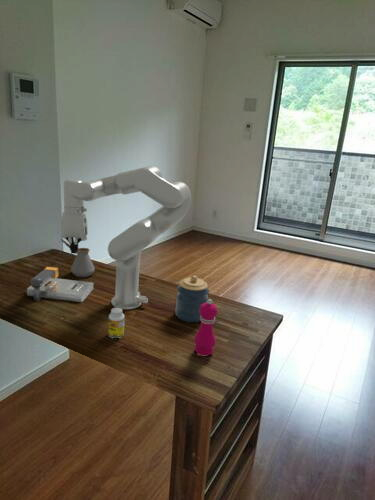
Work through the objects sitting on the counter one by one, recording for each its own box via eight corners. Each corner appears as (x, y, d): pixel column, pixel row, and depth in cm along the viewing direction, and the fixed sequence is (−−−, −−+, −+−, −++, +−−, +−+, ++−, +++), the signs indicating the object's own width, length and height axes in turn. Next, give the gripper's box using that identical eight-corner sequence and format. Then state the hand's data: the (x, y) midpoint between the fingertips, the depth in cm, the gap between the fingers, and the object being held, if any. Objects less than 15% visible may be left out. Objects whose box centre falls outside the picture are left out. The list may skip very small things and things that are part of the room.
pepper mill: (213, 346, 133) (219, 295, 126) (215, 358, 126) (221, 304, 120) (193, 345, 132) (198, 294, 126) (194, 357, 125) (199, 303, 119)
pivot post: (41, 299, 156) (41, 285, 154) (38, 301, 154) (38, 287, 152) (36, 298, 156) (35, 284, 154) (33, 300, 154) (32, 287, 152)
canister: (209, 311, 158) (213, 273, 152) (202, 326, 146) (206, 284, 140) (180, 306, 161) (183, 267, 155) (170, 319, 149) (173, 278, 143)
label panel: (93, 288, 170) (93, 282, 169) (82, 302, 157) (82, 294, 155) (42, 282, 172) (42, 275, 170) (27, 295, 158) (26, 288, 157)
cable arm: (40, 291, 151) (40, 281, 150) (28, 290, 152) (28, 280, 150) (58, 276, 167) (58, 266, 166) (47, 275, 168) (47, 265, 166)
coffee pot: (99, 274, 187) (100, 245, 182) (82, 280, 177) (82, 251, 173) (70, 263, 197) (69, 236, 192) (52, 269, 187) (51, 240, 183)
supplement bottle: (104, 335, 134) (105, 309, 131) (117, 329, 138) (117, 304, 135) (114, 341, 130) (115, 315, 127) (127, 335, 134) (128, 310, 131)
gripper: (94, 210, 155) (94, 251, 161) (60, 206, 156) (60, 247, 162) (88, 213, 148) (88, 257, 154) (52, 209, 149) (53, 253, 155)
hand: (74, 252), depth 158 cm, fingers closed
